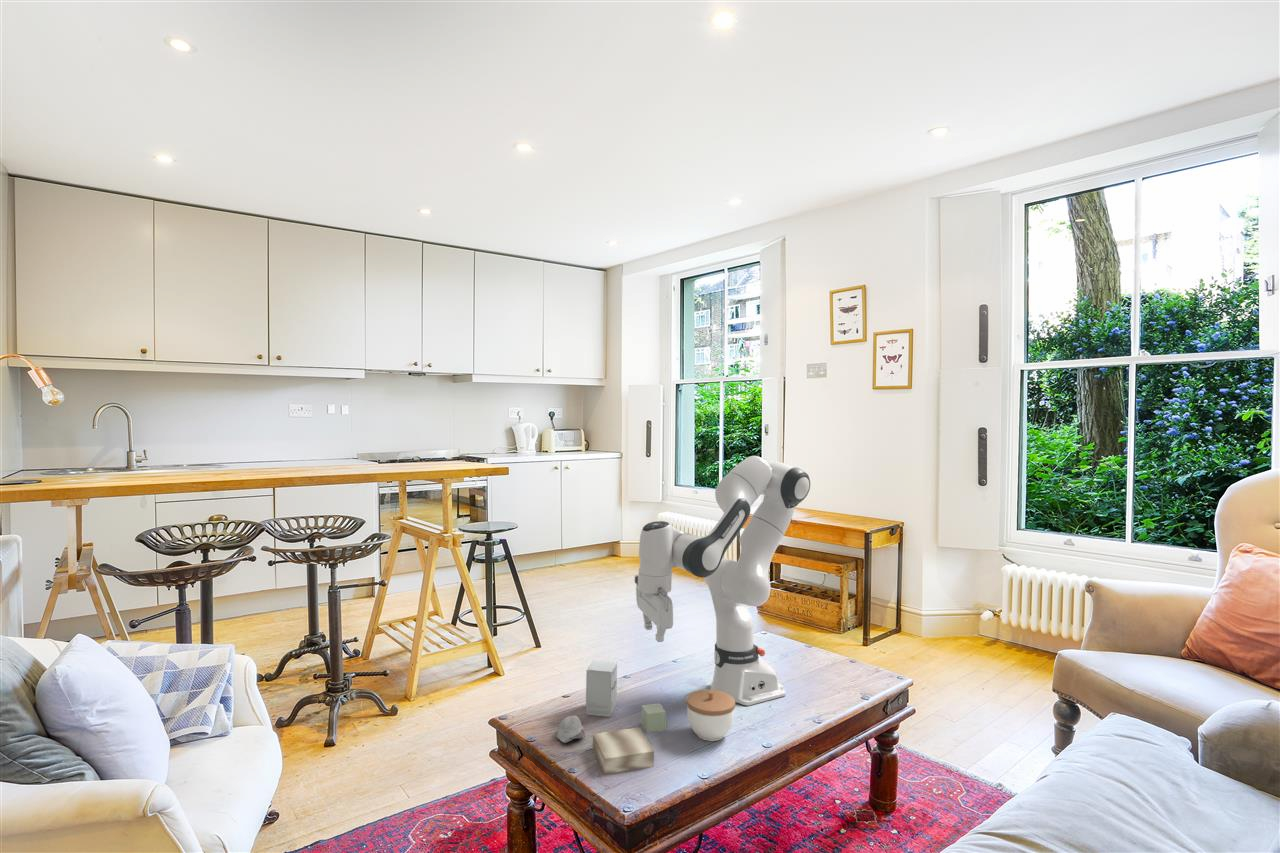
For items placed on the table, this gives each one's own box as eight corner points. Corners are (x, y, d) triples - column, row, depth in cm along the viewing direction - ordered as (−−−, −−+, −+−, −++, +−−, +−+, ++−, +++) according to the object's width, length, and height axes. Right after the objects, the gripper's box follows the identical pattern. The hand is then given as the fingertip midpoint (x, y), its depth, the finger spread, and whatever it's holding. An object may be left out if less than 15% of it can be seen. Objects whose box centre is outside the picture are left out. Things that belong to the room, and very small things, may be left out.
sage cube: (659, 721, 174) (659, 703, 174) (665, 730, 169) (665, 711, 169) (641, 723, 173) (641, 705, 173) (647, 732, 168) (647, 713, 168)
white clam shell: (593, 738, 165) (593, 719, 165) (568, 749, 159) (568, 730, 159) (572, 726, 171) (572, 708, 171) (547, 737, 165) (547, 717, 165)
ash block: (638, 742, 163) (638, 727, 163) (653, 767, 152) (654, 751, 152) (592, 749, 160) (592, 733, 160) (604, 775, 148) (604, 758, 148)
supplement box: (611, 717, 176) (611, 672, 175) (585, 714, 177) (585, 669, 177) (617, 705, 183) (617, 661, 183) (592, 703, 184) (592, 659, 184)
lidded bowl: (708, 717, 176) (709, 678, 176) (744, 735, 167) (745, 693, 166) (676, 732, 168) (676, 691, 168) (712, 752, 158) (712, 708, 158)
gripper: (680, 593, 161) (678, 647, 162) (654, 573, 181) (652, 622, 181) (656, 594, 159) (655, 650, 160) (632, 574, 179) (631, 623, 179)
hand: (653, 635), depth 171 cm, fingers open, 8 cm apart
